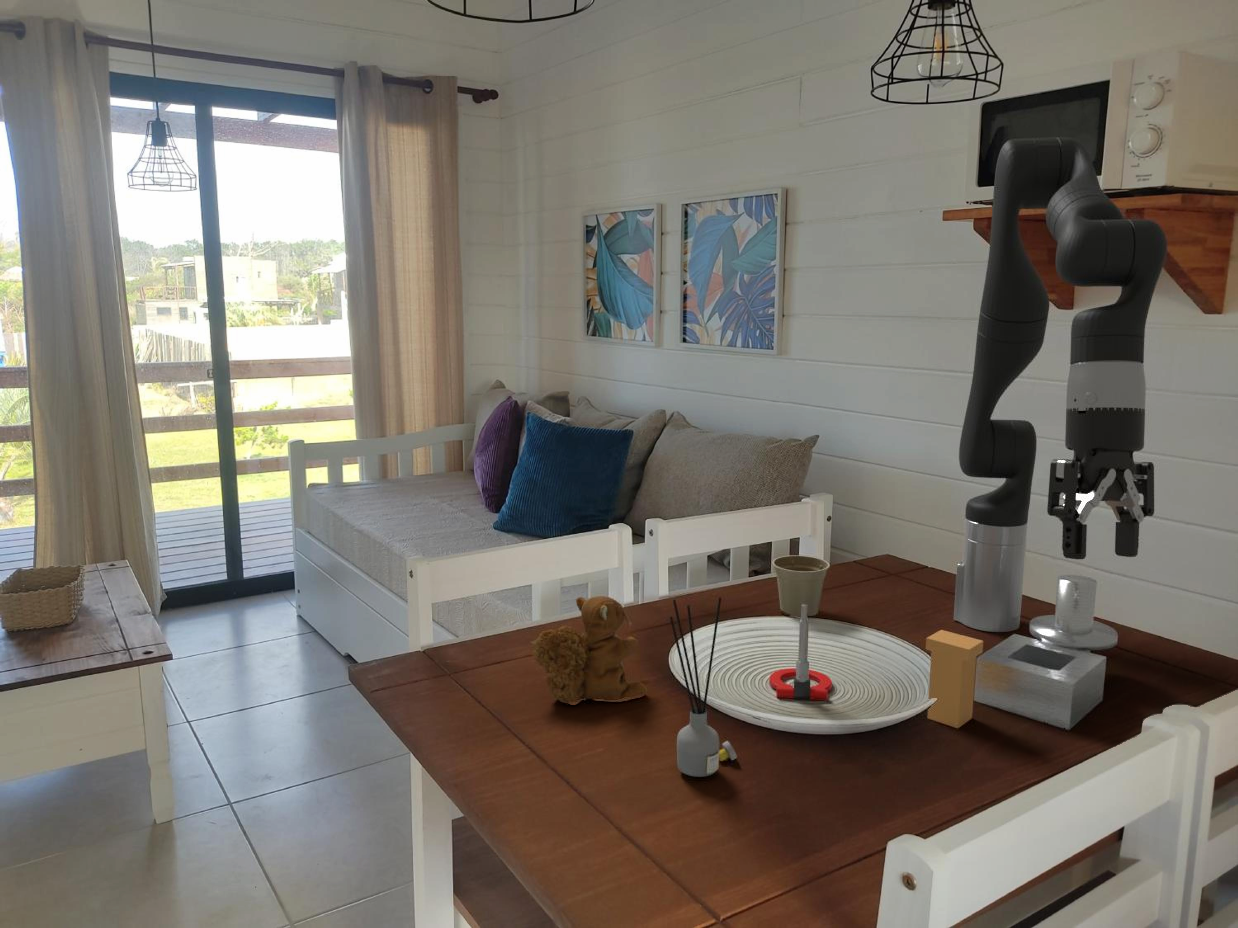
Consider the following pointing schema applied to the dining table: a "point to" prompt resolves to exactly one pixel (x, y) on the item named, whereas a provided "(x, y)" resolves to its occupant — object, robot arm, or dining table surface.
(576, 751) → the dining table surface
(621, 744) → the dining table surface
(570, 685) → the stuffed squirrel
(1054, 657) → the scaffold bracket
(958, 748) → the dining table surface
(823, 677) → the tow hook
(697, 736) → the reed diffuser
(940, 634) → the wedge pin
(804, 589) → the flower pot
